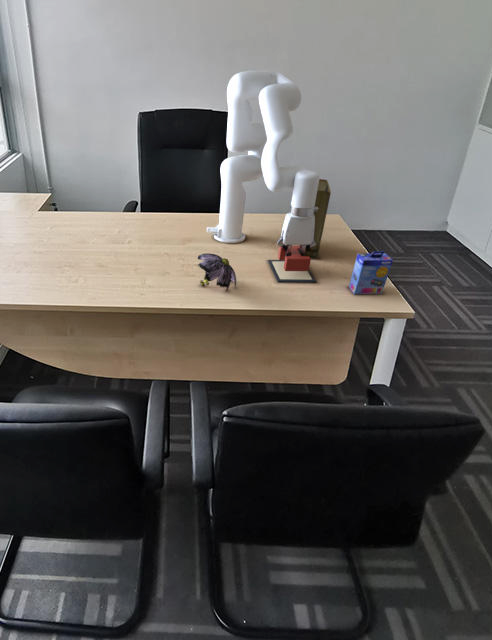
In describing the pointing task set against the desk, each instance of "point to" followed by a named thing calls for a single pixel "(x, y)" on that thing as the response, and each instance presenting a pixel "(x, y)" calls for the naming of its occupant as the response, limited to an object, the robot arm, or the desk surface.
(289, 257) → the letter I
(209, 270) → the decorative flower
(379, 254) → the ink cartridge box
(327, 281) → the desk surface
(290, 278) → the desk mat
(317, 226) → the book
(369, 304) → the desk surface
